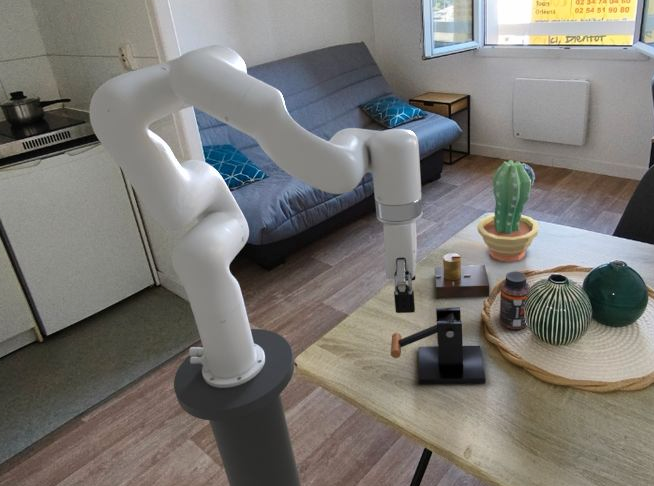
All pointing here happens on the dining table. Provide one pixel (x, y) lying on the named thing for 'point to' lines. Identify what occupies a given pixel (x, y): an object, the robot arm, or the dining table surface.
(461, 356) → the bracket
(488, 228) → the potted cactus
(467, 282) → the dial panel
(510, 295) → the supplement bottle
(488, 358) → the dining table surface
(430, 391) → the dining table surface
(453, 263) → the knob
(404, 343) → the lever handle
